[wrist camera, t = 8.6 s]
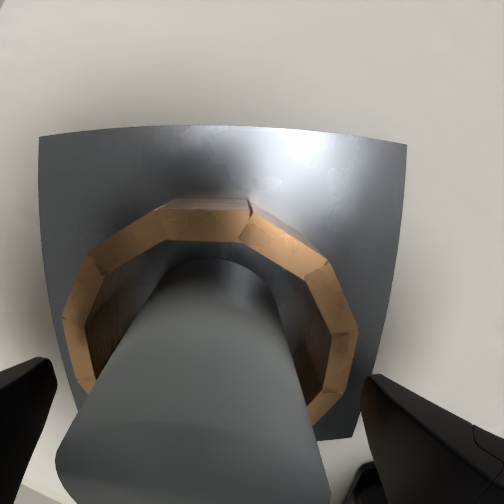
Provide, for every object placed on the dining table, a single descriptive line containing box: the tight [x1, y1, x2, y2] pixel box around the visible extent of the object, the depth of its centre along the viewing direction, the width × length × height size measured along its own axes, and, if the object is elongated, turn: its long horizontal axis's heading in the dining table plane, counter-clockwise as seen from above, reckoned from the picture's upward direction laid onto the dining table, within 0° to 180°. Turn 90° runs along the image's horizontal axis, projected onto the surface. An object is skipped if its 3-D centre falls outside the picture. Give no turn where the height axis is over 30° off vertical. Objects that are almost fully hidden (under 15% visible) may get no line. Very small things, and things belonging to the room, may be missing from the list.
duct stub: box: [55, 259, 331, 504], centre depth 8 cm, size 5×5×8 cm
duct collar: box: [38, 125, 407, 441], centre depth 11 cm, size 14×14×4 cm
